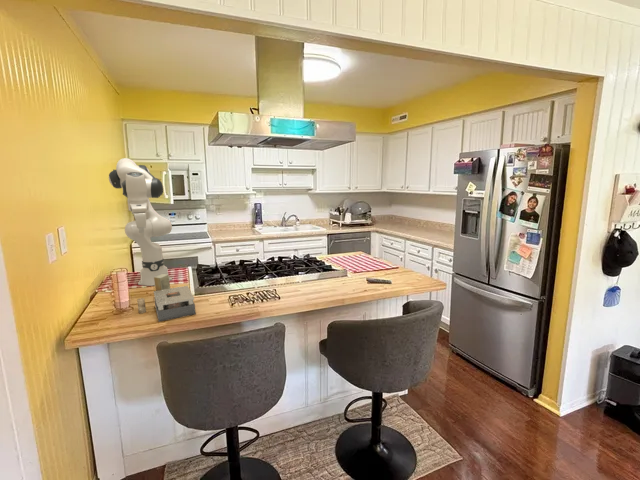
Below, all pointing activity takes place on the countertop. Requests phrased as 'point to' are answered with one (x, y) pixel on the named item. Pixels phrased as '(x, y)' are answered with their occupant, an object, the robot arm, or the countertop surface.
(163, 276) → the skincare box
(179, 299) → the breaker housing
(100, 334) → the countertop surface
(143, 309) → the grey block
